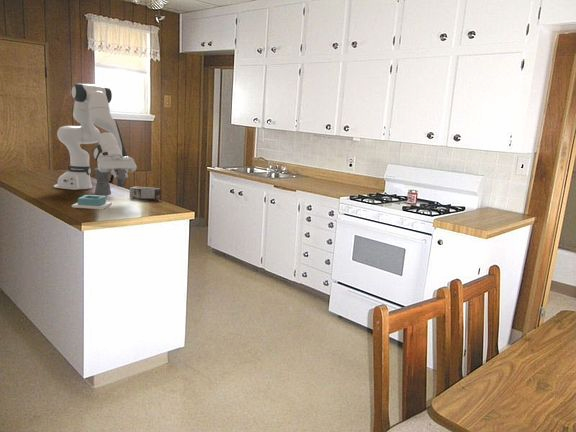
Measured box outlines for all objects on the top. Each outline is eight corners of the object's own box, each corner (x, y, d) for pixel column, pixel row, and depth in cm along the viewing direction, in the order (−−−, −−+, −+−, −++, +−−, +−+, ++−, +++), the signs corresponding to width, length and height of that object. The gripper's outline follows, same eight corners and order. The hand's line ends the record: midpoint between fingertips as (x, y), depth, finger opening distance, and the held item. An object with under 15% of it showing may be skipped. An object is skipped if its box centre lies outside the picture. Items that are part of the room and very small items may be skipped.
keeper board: (71, 207, 240) (71, 198, 239) (82, 202, 254) (82, 193, 253) (103, 209, 241) (103, 200, 240) (111, 204, 255) (111, 195, 254)
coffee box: (129, 198, 275) (154, 201, 272) (129, 187, 273) (154, 190, 271) (137, 196, 283) (161, 198, 281) (137, 185, 282) (161, 188, 279)
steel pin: (116, 186, 248) (116, 169, 246) (118, 184, 252) (118, 168, 250) (123, 186, 248) (123, 170, 246) (125, 185, 252) (125, 169, 250)
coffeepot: (88, 192, 281) (88, 163, 278) (100, 191, 290) (99, 162, 286) (108, 196, 276) (108, 166, 272) (119, 194, 285) (119, 165, 281)
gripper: (130, 160, 262) (137, 179, 257) (93, 160, 248) (101, 181, 244) (133, 153, 258) (141, 173, 253) (97, 153, 244) (104, 174, 240)
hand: (121, 177), depth 248 cm, fingers closed on steel pin, 4 cm apart
